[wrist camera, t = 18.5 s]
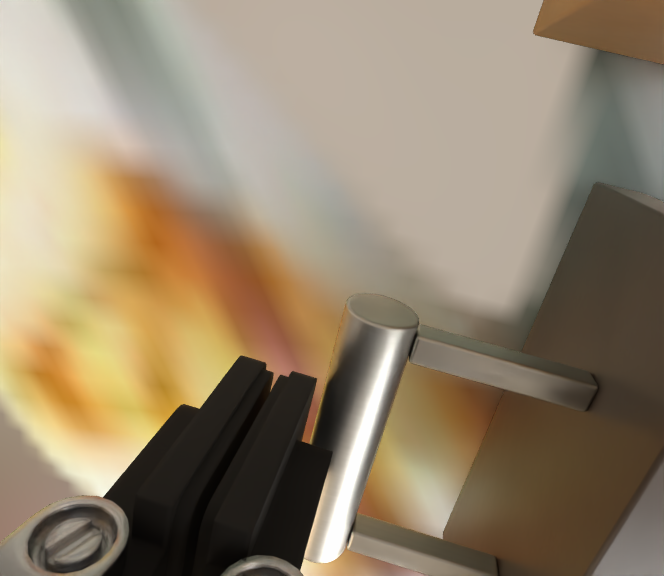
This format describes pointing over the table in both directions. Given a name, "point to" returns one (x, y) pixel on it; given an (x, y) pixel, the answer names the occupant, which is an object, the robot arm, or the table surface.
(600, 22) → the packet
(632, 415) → the drawer
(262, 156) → the table surface
